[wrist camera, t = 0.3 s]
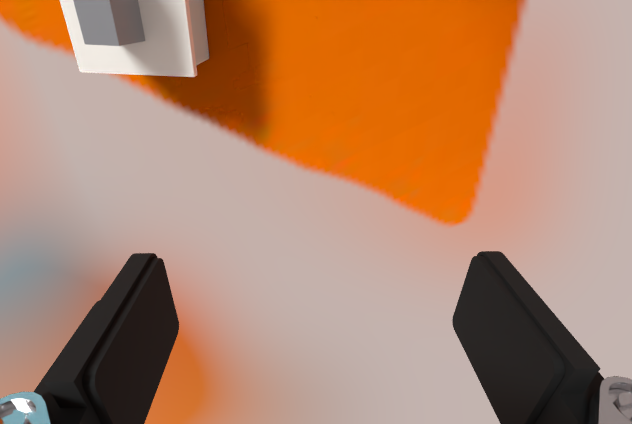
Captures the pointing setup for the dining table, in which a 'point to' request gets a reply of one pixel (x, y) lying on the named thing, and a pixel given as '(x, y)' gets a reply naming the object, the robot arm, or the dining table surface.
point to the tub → (199, 30)
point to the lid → (132, 36)
